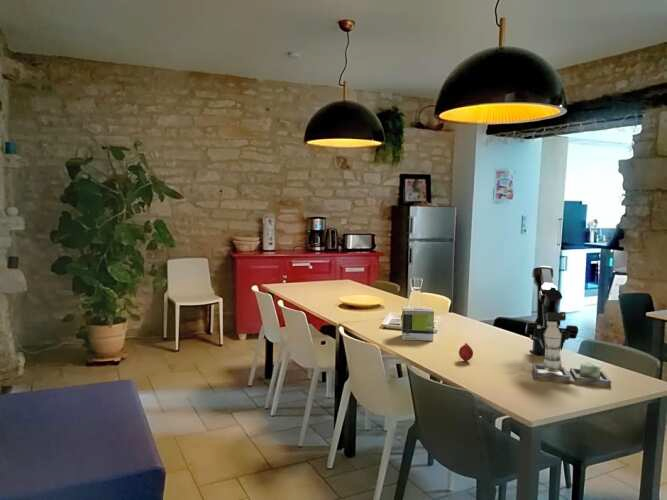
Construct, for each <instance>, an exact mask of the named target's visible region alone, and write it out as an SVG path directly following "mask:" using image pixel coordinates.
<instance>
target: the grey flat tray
mask: <svg viewBox="0 0 667 500" xmlns="http://www.w3.org/2000/svg"><path fill="white" fill-rule="evenodd" d="M531 368H532V369H531V371H532V373H533V377H534V379H535V380H537V381H546V382H557V383H562V384H563V383H565V384H575V385H583V386H591V387H592V386H595V387H602V388H610V389H611V388H612V380H611V379H610V378H609V377H608V375H607V374H606V373H605V371H604V370H601V368H602V366H601V365H600V364H598V363H594V362H585V361H584V362H581V363H580V365H579V368H576V367H575V368H574V367H569V371H567V368H566V367H564V366H562V369H561V370H560V371H559V372H549V371H547V370H545V368H544V364H536V363H535V364H534V363H533V364H532V367H531Z"/></svg>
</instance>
